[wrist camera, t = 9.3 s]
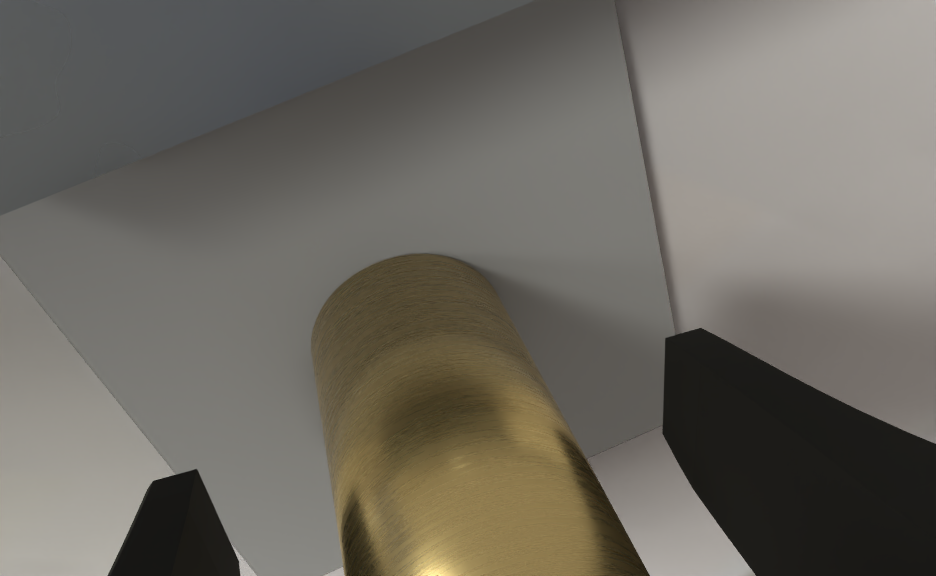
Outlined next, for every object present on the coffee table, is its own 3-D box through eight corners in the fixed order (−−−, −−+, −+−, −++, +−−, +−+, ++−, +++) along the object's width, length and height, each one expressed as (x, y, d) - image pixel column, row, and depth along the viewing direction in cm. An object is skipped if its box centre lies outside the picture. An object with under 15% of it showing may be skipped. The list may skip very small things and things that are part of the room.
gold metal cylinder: (519, 379, 15) (692, 727, 10) (345, 439, 15) (418, 836, 9) (484, 227, 13) (678, 555, 7) (281, 292, 13) (324, 689, 7)
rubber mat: (273, 581, 17) (274, 596, 17) (-23, 206, 11) (-29, 218, 11) (681, 401, 18) (690, 412, 17) (596, -42, 12) (607, -37, 12)
